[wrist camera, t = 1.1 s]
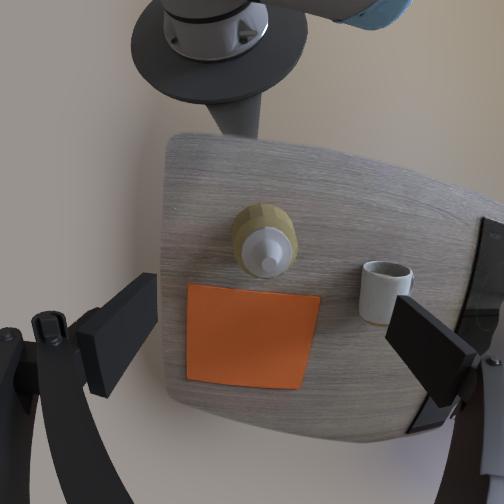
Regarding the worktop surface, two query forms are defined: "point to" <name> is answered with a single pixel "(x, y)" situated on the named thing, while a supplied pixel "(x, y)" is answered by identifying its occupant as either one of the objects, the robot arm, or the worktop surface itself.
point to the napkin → (249, 336)
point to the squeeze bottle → (264, 241)
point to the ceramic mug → (383, 290)
